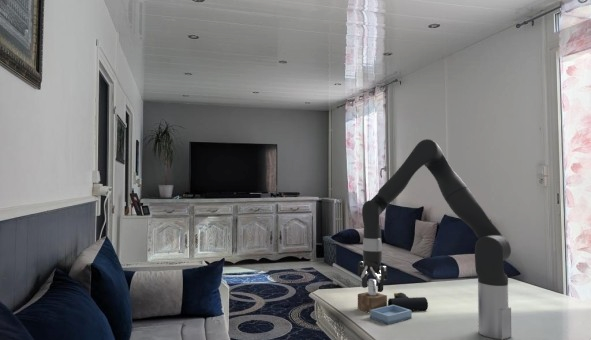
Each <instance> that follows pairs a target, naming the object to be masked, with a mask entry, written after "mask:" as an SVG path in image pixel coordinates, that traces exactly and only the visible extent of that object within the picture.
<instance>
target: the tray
mask: <svg viewBox="0 0 591 340" xmlns="http://www.w3.org/2000/svg"><path fill="white" fill-rule="evenodd" d="M412 313H413V312H412V310H409V309H406V308H402V307H399V306H396V305H390V306H388V305H387V306H385V307H381V308H377V309H372V310H370V313H369V318H370V319H372V320H373V321H377V322H380V323H383V324H385V325H392V324H396V323H399V322H403V321H407V320H411V319H412V317H413V316H412Z"/></svg>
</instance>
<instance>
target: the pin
mask: <svg viewBox="0 0 591 340" xmlns="http://www.w3.org/2000/svg"><path fill="white" fill-rule="evenodd" d="M367 288H368V289H367V292H368V296H372V297H374V296H376V293H377V279H376V278H369V279H368V278H367Z"/></svg>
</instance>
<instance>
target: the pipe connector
mask: <svg viewBox="0 0 591 340" xmlns="http://www.w3.org/2000/svg"><path fill="white" fill-rule="evenodd" d="M390 305H396V306H399V307H402V308H406V309H409V310H412V311H427V310H428V307H429V302H428V299H427V297H424V296H419V297H418V296H417V297H408V296H407V294H405V293H404V292H396V293H395V292H394V293H393V297H391V298H387V306H390Z"/></svg>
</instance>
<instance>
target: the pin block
mask: <svg viewBox="0 0 591 340" xmlns="http://www.w3.org/2000/svg"><path fill="white" fill-rule="evenodd" d="M385 306H388V295H386V294H383V293H381V292H376V296H374V297H372V296H368V291H366V292H361V293H358V294H357V310H359V309H360V310H359V311H362V310H363V312H365V311H366V313H368V312H369V313H368V314H370V310H372V309H377V308H381V307H385Z"/></svg>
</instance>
